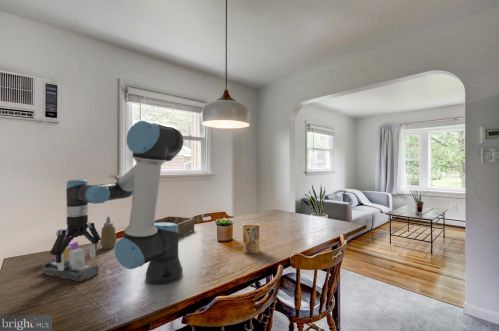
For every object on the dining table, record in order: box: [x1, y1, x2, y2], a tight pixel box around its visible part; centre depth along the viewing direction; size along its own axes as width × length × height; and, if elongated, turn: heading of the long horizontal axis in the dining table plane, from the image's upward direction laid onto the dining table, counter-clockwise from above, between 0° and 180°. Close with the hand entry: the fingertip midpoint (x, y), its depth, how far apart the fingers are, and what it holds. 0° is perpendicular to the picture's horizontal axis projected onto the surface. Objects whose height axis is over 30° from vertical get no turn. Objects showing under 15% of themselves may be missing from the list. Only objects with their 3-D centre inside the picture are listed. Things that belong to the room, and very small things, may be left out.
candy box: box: [242, 223, 260, 254], centre depth 133 cm, size 9×4×15 cm, turn 92°
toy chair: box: [53, 229, 79, 259], centre depth 125 cm, size 8×9×15 cm
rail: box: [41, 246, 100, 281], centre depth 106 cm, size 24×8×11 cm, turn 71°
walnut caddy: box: [154, 215, 195, 239], centre depth 164 cm, size 22×31×9 cm
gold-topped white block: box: [69, 247, 91, 273], centre depth 104 cm, size 8×4×9 cm, turn 71°
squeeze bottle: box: [100, 216, 117, 250], centre depth 139 cm, size 8×8×18 cm
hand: (77, 263), depth 105 cm, fingers open, 13 cm apart
